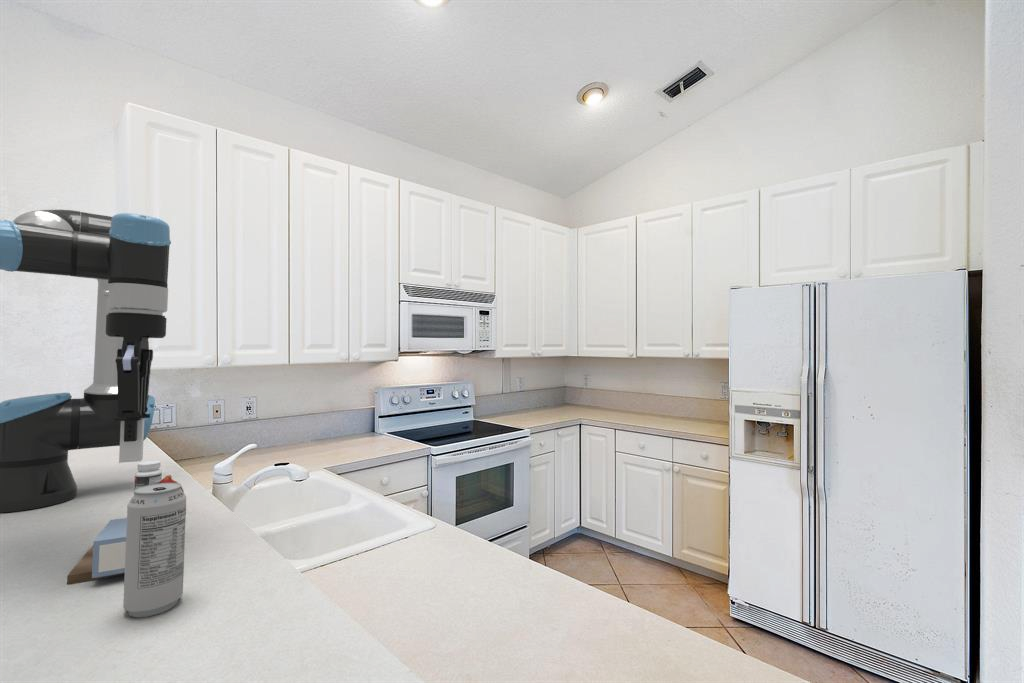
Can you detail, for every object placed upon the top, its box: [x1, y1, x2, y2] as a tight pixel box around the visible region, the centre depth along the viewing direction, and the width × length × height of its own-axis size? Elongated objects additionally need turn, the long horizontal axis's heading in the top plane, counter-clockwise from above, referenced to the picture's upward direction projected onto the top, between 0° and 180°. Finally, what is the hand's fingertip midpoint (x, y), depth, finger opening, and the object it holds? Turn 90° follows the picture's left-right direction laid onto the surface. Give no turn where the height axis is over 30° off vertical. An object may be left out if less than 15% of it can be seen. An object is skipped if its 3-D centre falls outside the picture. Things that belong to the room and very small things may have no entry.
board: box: [66, 544, 125, 585], centre depth 73 cm, size 14×11×1 cm
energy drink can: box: [122, 482, 187, 618], centre depth 59 cm, size 6×6×15 cm
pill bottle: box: [133, 460, 163, 496], centre depth 103 cm, size 5×5×8 cm
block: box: [92, 517, 127, 578], centre depth 70 cm, size 5×5×10 cm
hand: (131, 460), depth 74 cm, fingers closed
